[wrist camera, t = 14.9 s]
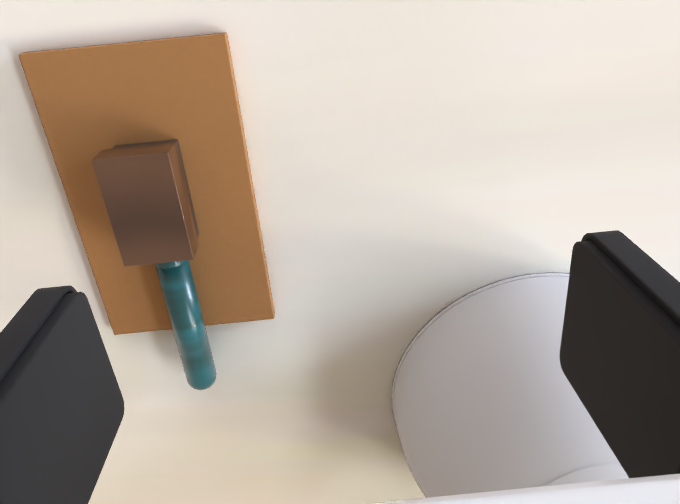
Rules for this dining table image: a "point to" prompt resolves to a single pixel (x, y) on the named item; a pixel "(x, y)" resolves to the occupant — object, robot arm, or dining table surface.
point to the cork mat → (148, 126)
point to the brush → (159, 236)
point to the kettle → (496, 396)
